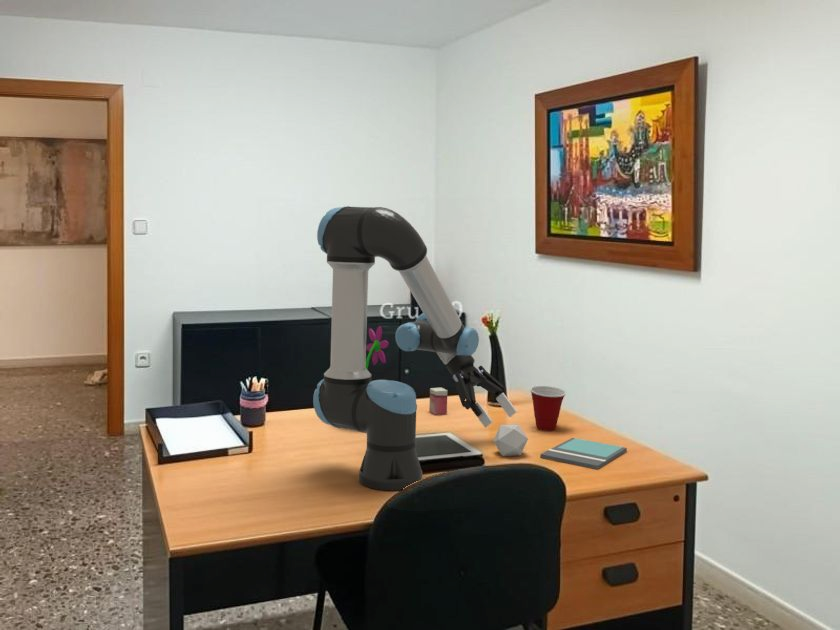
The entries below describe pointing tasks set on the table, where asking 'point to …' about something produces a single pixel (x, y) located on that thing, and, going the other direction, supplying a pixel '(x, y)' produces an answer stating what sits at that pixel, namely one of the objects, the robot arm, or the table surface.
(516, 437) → the die
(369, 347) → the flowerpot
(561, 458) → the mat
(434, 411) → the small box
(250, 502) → the table surface
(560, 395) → the plastic cup
